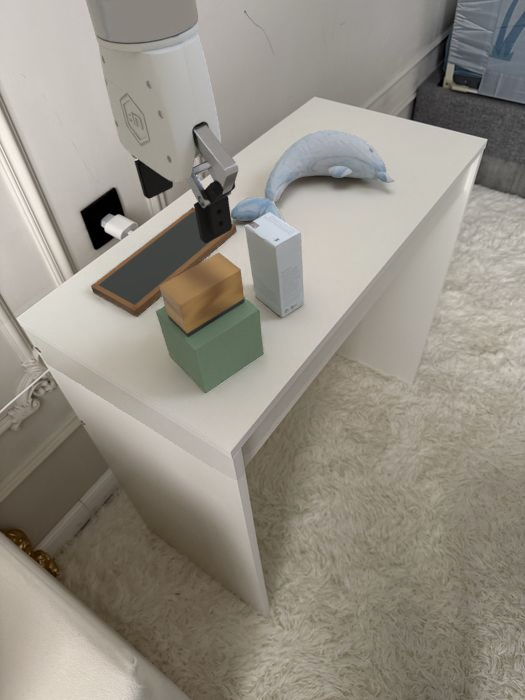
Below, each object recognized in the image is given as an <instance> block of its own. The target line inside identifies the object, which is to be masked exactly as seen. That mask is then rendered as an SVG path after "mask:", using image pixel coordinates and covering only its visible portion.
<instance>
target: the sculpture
mask: <svg viewBox="0 0 525 700" xmlns="http://www.w3.org/2000/svg"><path fill="white" fill-rule="evenodd" d="M312 176H314V177H315V176H326V177H327V176H328V177H329V176H330V177H332V178H338V179H340V178H353V179H367V180H372V181H373V180H374V181H377V180H378V181H380V182H383V183H386V184H390V183H394V182H395V179H394V178H393V177H392V175H390V174H389V173H387V167H386V164H385V162H384V160H383V159H382V157H381V155H380V154H379V153H378V152H377V150H376V149H375V148H374V147H373V146H372V145H371V144H370V143H368V141H366V140H364V139H363V138H361V137H358V136H356V135H354V134H351V133H349V132H345V131H341V130H333V129H328V130H327V129H326V130H319V131H316V132H312V133H309V134H307V135H305V136H302V137H301V138H299V139H298V140H296V141H295V142H294V143H292V144H291V146H289V147H288V148H287V149H286V150H285V152H283V154H282V155H281V156H280V157H279V158H278V160H277V162H275V164H274V166H273V168H272V170H271V171H270V173H269V175H268V178H267V182H266V184H265V188H264V197H247V198H244V199H243V200H241V201H240V202H238V203H237V204H236V205H235V206H234V207H233V208H232V209H230V215H231V219H233V220H236V221H240V222H242V221H243V222H244V221H245V222H246V221H250V222H252V221H254V220H256V219H258V218H259V217H261V216H263V215H265V214H267V213H269V212H271V213H272V214H274V215H275V216H277V217H278V218H280V219H281V220H283V221H284V222H286V219H285V218H284V216H283V214H282V213H281V211H280V210H279V208H278V207H277V205H276V203H275V202H277V201H279V199H280V197H281V195H282V193H283V192H284V191H285V189H287V187H288V186H290V184H291V183H293V182H294V181H296V180H297V179H299V178H304V177H312ZM286 223H287V222H286Z"/></svg>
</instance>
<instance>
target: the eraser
mask: <svg viewBox="0 0 525 700" xmlns="http://www.w3.org/2000/svg"><path fill="white" fill-rule="evenodd" d="M159 287H160V290H161V294H162V296H161V297H162V300H163V303H164V306H165V307H166V311H167V314H168V318H169V319H170V320H171V321H172V322H173V323H174V324H175V325H176V326H177V327H178V328H179V329H180V330H181V331H182V332H183V333H184V334H185V335H186V336H187V337H189V336H191V335H193V334H194V333H196V332H197V331H199V330H201V329H202V328H204V327H205V326H207V325H209V324H210V323H212V322H213V321H215V320H217V319H218V318H220V317H222V316H223V315H225V314H226V313H228V312H230V311H231V310H233V309H234V308H236V307H238V306H239V305H241V304H242V303H244V302H245V300H244V297H245V293H244V285H243V278H242V269H241V268H240V267H238V266H237V265H236V264H235V263H233V262H232V261H231V260H230V259H228V258H227V257H225V256H224V255H223V254H222V253H220V252H217V253H215V254H214V255H211V256H210V257H207V258H205V259H204V260H203V261H202V262H200V263H199V264H198V265H196V266H194V267H192V268H190V269H189V270H187V271H185V272H183V273H182V274H180V275H178V276H176V277H174V278H173V279H171V280H169V281H167V282H165V283H164V284H162V285H160V286H159Z"/></svg>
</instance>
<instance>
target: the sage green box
mask: <svg viewBox="0 0 525 700" xmlns="http://www.w3.org/2000/svg"><path fill="white" fill-rule="evenodd" d="M244 300H245V302H244V303H242V304H241V305H239V306H238V307H236V308H234V309H233V310H231V311H230V312H228V313H226V314H225V315H223V316H222V317H220V318H218V319H217V320H215V321H213V322H212V323H210V324H209V325H207V326H205V327H204V328H202V329H201V330H199V331H197V332H196V333H194V334H193V335H191V336H189V337H187V336H186V335H185V334H184V333H183V332H182V331H181V330H180V329H179V328H178V327H177V326H176V325H175V324H174V323H173V322H172V321H171V320H170V319H169V318H168V314H167V311H166V307H165V305H164V306H162V307H161V308H159V309H157V310H156V311H155V313H156V317H157V321H158V324H159V326H160V327H159V328H160V329H161V332H162V336H163V340H164V343H165V345H166V349H167V352H168V355H169V357H170V358H172V360H173V361H174V362H175V363H176V364H177V365H178V366H179V367H180V368H181V369H182V370H183V371H184V372H185V373H186V374H187V376H189V377H190V379H191V380H192V381H193V382H194V383H195V384H196V385H197V386H198V387H199V388H200V389H201V390H202V391H203V392H204V393H206V394H207V393H208V392H209V391H211V390H213V389H214V388H216V387H217V386H219V385H220V384H221V383H223V382H224V381H226V380H228V379H229V378H230V377H232V376H233V375H235V374H236V373H238V372H239V371H241V370H242V369H243V368H245V367H246V366H248V365H250V364H251V363H252V362H254V361H256V360H257V359H258V358H260V357H262V356H263V355H264V344H263V333H262V323H261V313H260V308H258V307H257V306H256V305H255V304H254V303H252V302H251V301H250V300H249V299H248V298H246V297H245V296H244Z"/></svg>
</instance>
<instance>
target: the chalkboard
mask: <svg viewBox="0 0 525 700" xmlns="http://www.w3.org/2000/svg"><path fill="white" fill-rule="evenodd" d="M235 233H237V225H236V224H234V223H232V228H231V230H230V231H228V232H226V233H225V234H223V235H221V236H219V237H217V238H216V239H214V240H212V241H210V242H208V243H204V242H203V241H202V240H201V239H200V234H199V229H198V224H197V219H196V214H195V209H194V207H191V208H190V209H189V210H188V211H186V212H185V213H184V214H182V215H181V216H180V217H179V218H177V219H176V220H175V221H173V222H172V223H170V224H169V225H168V226H167V227H165V228H164V229H163V230H162V231H161V232H159V233H158V234H157V235H155V236H153V237H152V238H150V240H149V241H147V242H146V243H145V244H143V245H142V246H140V247H139V248H138V249H137V250H135V251H134V252H133V253H132V254H130V255H129V256H127V258H125V259H123V261H121V262H120V263H119V264H117V265H116V266H115V267H114V268H112V269H111V270H110V271H108V272H107V273H106V274H104V275H103V276H102V277H101V278H99V279H98V280H97V281H95V282H94V283H92V284H91V285H90V288H91V291H92V293H94V294H96V295H98V296H99V297H101V298H102V299H104V300H106V301H108V302H110V303H112V304H113V305H114V306H117V307H119V308H121V309H122V310H124V311H126V312H128V313H129V314H131V315H132V316H135V317H139V316H140V315H141V314H142V313H144V312H145V311H146V310H147V309H148V308H149V307H150V306H151V305H153V304H154V303H155V302H156V301H157V300H159V299H160V298H161V297H162V294H161V290H160V287H159V286H160V285H162V284H164V283H165V282H167V281H169V280H171V279H173V278H174V277H176V276H178V275H180V274H182V273H183V272H185V271H187V270H189V269H190V268H192V267H194V266H196V265H198V264H199V263H201V262H203V261H205V260H206V259H207V258H208V257H209V256H210V255H211V254H212V253H213V252H215V251H216V250H217V249H218V248H220V246H221V245H223V244H224V243H225V242H226V241H227V240H229V239H230V238H231V237H232V236H233V235H234V234H235Z"/></svg>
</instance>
